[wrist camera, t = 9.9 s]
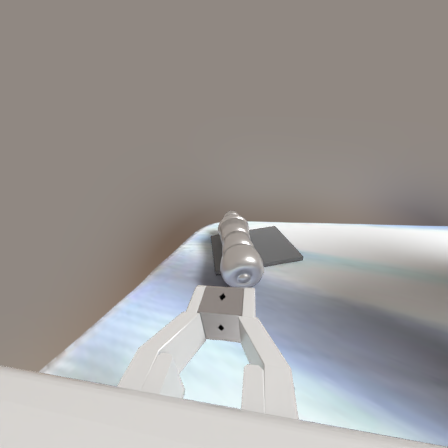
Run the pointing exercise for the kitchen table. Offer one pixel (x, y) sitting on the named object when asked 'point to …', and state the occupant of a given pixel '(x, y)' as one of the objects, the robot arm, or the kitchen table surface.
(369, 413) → the kitchen table surface
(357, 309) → the kitchen table surface
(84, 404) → the robot arm
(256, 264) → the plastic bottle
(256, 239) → the mat
